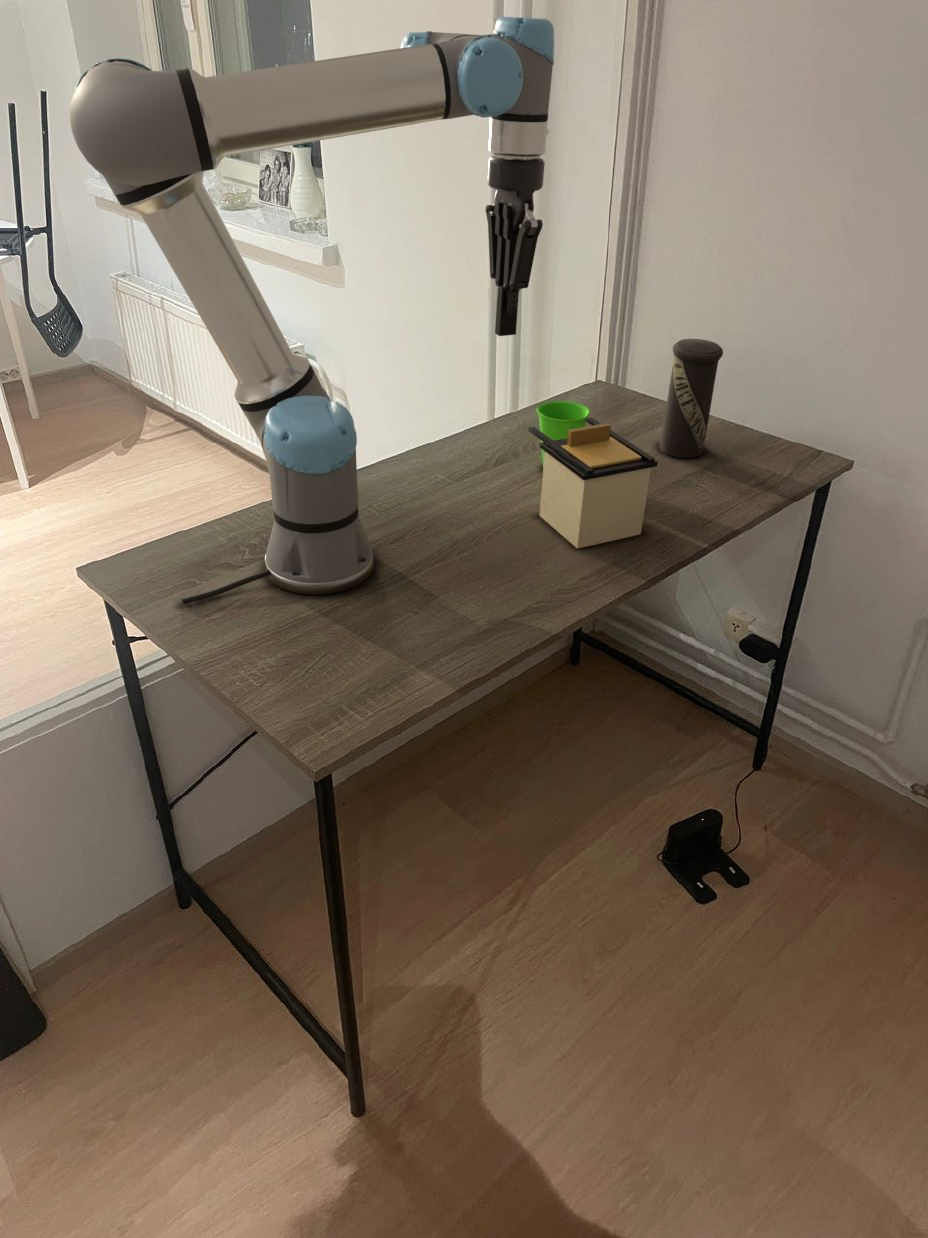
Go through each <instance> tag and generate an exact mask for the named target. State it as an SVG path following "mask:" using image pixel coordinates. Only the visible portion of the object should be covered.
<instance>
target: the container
mask: <svg viewBox="0 0 928 1238" xmlns="http://www.w3.org/2000/svg"><path fill="white" fill-rule="evenodd" d="M672 352H673V353H672V354H673V360H672V367H671V373H670V374H671V375H670V381H669V387H668V392H667V399H666V404H665V405H666V406H665V411H664V417H663V421H662V422H663V423H662V428H661V435H660V440H659V450H660V451H661V452H662V453H664V454H666V455H668V456H670V457H674V458H680V459H691V458H695V457H698V456H700V455H702V454H703V452H704V449H705V443H706V438H707V433H708V432H707V431H708V424H709V419H710V414H711V408H712V402H713V395H714V389H715V382H716V376H717V370H718V365H719V361H720V360H721V358H722V357H723V354H724V350H723V347H721V346H720V345H719V344H718V343H716V342H714V341H711V340H707V339H701V338H685V339H680V340H679V341H677V342H675V343H674V344H673V346H672Z"/></svg>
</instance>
